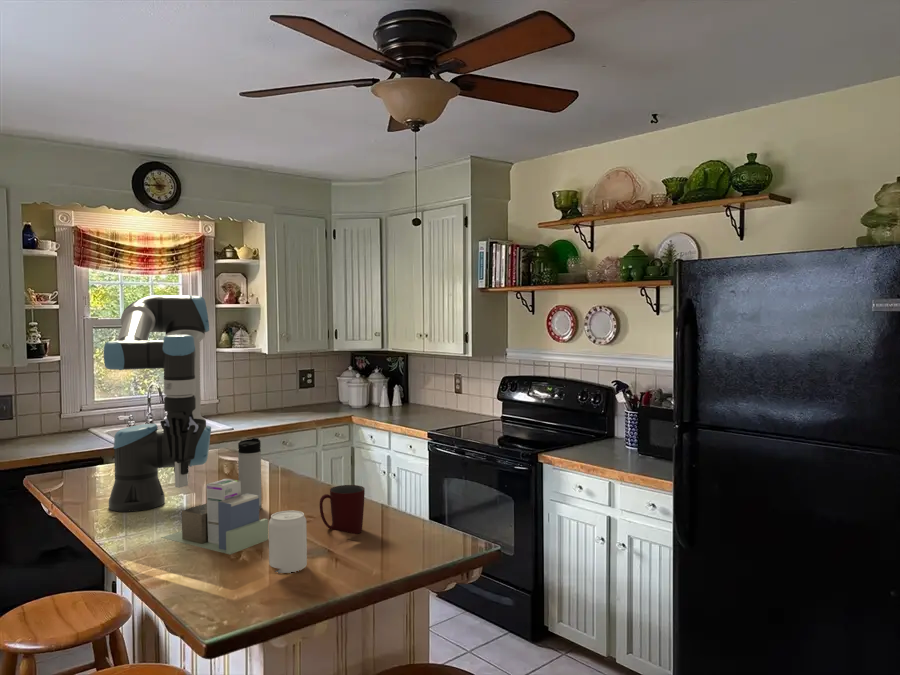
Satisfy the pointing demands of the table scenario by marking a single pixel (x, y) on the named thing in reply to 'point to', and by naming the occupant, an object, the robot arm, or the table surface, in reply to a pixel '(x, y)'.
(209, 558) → the table surface
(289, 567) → the beverage can
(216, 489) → the syrup box
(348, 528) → the mug
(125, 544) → the table surface
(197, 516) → the bookend
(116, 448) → the robot arm
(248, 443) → the travel mug
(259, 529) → the pale green slab
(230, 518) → the book block
